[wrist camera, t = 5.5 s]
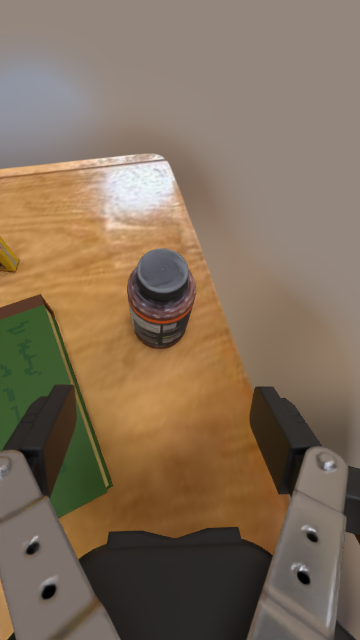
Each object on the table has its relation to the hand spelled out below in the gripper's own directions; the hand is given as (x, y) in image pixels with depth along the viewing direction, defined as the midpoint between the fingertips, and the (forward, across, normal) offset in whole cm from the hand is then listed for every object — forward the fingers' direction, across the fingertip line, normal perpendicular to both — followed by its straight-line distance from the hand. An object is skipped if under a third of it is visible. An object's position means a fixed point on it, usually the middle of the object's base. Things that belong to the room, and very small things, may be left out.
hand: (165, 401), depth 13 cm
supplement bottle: (+20, 0, +4) cm, 20 cm away
